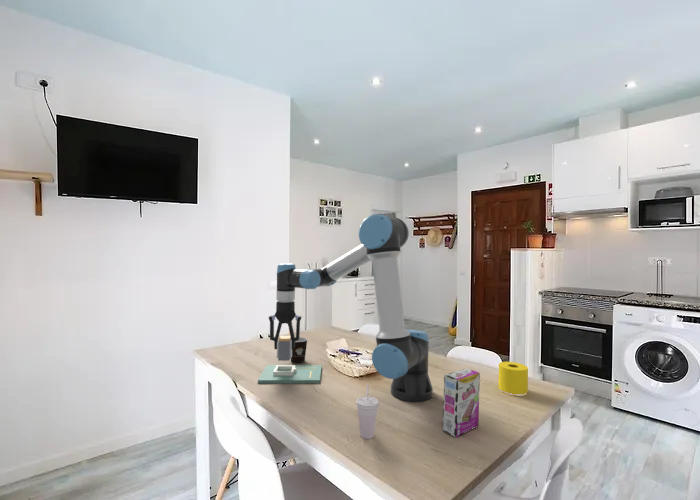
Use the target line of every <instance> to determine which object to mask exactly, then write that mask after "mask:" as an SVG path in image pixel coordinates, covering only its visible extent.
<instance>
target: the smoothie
mask: <svg viewBox="0 0 700 500" xmlns="http://www.w3.org/2000/svg"><path fill="white" fill-rule="evenodd" d="M369 385H370V384H368V383H367V384H366V393H365V394H366V396H361V397H357V398H356V402H355V405H356V406H357V414H358V415H357V416H358V424H359V432H360V437H361V438H362V439H365V440H370V439H372V438H374V435H375V428H376V421H377V413H378V407H379V406H380V403H379V399H377V398H376V397H373V396H369V390H370V389H369Z"/></svg>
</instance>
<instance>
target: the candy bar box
mask: <svg viewBox="0 0 700 500" xmlns="http://www.w3.org/2000/svg"><path fill="white" fill-rule="evenodd" d="M443 378H444V379H443V405H442V431H443V430H444V431H446V432H448V433H449V434H448V433H447V434H448V435H450V434H452V435H453V436H455V437H454V438H458V437H459V435H460V436H462V435H463V434H462V433H464V432H466V431H468V430H470V431H472V430H473V429H472V428H474V427H476V426H478V427H479V423H480V422H479V417H480V413H479V412H480V410H479V409H480V387H481V386H480V382H481V380H480V378H481V373H480V372H478V371H475V370H473V369H470V368H463V369H460V370H457V371H453V372H451V373H446V374H443ZM471 429H472V430H471ZM474 429H475V428H474ZM444 431H443V432H444ZM446 432H445V433H446ZM468 432H469V431H468ZM466 433H467V432H466ZM461 434H462V435H461ZM464 434H465V433H464ZM453 436H452V437H453ZM457 436H458V437H457Z"/></svg>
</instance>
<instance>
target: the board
mask: <svg viewBox="0 0 700 500" xmlns="http://www.w3.org/2000/svg"><path fill="white" fill-rule="evenodd" d="M321 377H322V364H302V365H301V364H294V365H293V364H292V365H291V364H266V366H265V368H264V369H263V371H262V373H261V374H260V376H259V377H258V379H257V384H320V383H321Z"/></svg>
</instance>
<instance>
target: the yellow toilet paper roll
mask: <svg viewBox="0 0 700 500" xmlns="http://www.w3.org/2000/svg"><path fill="white" fill-rule="evenodd" d="M528 386H529V367H528V366H527V365H526V364H523V363H519V362H514V361H501V362H499V363H498V387H499V389H501V390H502V391H505V392H508V393H512V394H525V393H527V392H529V391H528V390H529V387H528ZM499 389H498V390H499Z"/></svg>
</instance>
